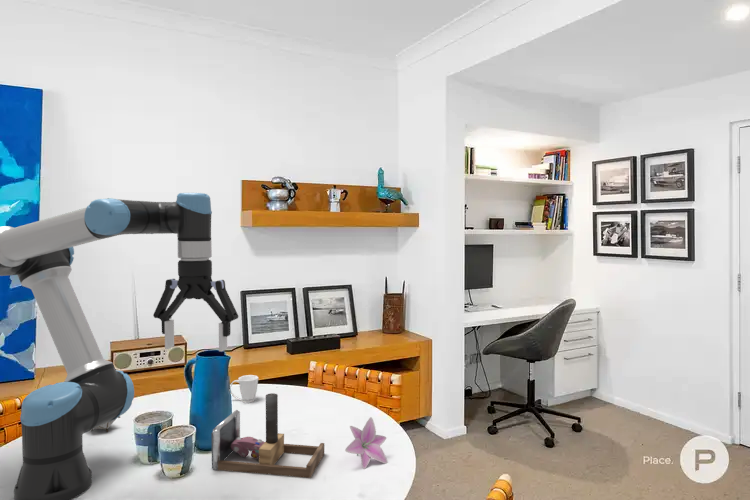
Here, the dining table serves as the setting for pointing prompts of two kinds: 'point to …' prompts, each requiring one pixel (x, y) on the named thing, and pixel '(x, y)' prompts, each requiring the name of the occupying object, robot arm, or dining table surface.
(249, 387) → the cup
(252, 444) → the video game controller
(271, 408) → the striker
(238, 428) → the grey tablet
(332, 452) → the dining table surface
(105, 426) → the game die
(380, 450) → the lily
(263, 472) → the brown flat rectangular frame
